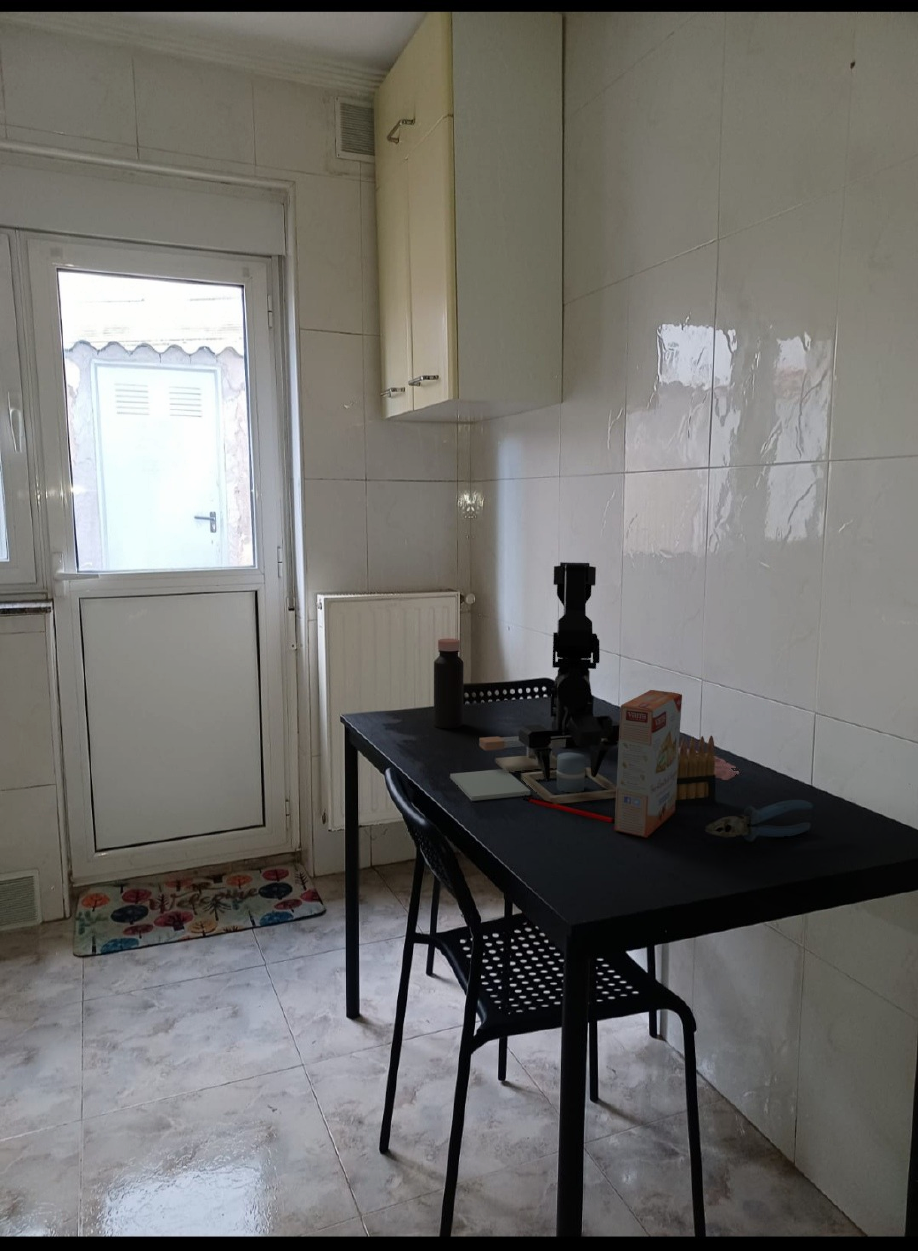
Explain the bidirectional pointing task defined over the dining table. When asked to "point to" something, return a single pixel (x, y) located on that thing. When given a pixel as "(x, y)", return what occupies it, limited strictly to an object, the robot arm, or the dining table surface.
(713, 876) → the dining table surface
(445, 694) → the bottle
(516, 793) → the pad
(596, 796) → the open square beige frame
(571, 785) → the grey round canister
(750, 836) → the pliers
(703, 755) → the ammunition clip
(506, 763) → the base
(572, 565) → the robot arm
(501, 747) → the cutter handle
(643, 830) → the cracker box
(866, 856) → the dining table surface
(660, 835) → the dining table surface
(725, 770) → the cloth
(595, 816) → the pen
